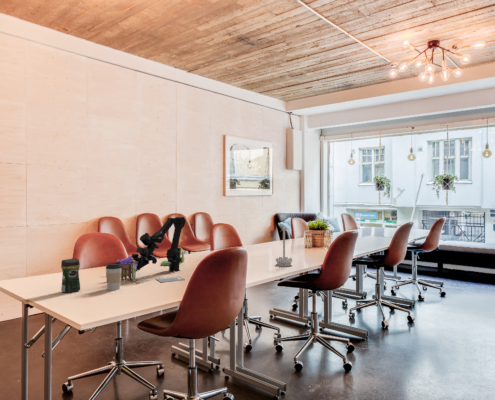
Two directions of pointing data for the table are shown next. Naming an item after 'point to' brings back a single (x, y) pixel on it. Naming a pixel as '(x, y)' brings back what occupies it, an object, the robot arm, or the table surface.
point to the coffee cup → (113, 276)
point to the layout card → (170, 279)
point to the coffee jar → (70, 275)
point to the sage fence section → (133, 271)
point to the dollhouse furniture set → (179, 256)
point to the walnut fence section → (125, 268)
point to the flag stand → (284, 260)
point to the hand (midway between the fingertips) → (137, 269)
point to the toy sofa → (128, 260)
